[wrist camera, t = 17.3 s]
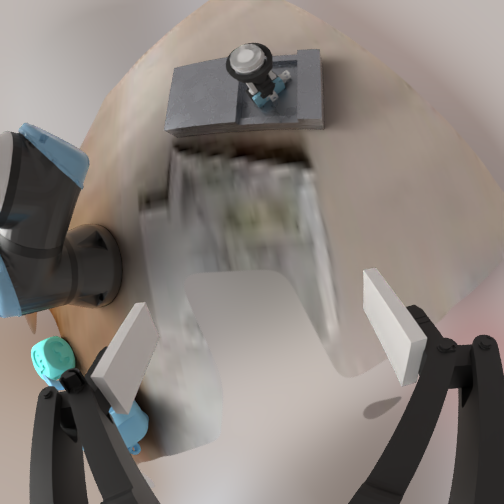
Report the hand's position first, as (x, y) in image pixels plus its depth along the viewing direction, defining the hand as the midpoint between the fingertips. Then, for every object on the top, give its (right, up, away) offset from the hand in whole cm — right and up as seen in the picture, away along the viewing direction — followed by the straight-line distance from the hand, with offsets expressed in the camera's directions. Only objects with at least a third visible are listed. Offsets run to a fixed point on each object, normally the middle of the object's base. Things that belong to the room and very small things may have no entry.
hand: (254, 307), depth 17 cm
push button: (+3, +25, +19) cm, 32 cm away
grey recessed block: (-1, +26, +22) cm, 33 cm away
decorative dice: (-43, -20, +37) cm, 60 cm away
